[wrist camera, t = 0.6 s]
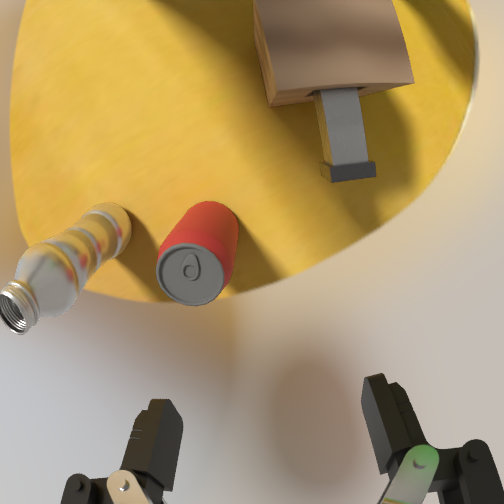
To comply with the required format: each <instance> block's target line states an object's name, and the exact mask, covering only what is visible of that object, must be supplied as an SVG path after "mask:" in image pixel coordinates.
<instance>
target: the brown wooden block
mask: <svg viewBox="0 0 504 504" xmlns="http://www.w3.org/2000/svg"><path fill="white" fill-rule="evenodd" d="M253 10H254V42H255V46H256V51H257V55H258V59H259V64H260V68H261V72H262V77H263V82H264V86H265V91H266V95H267V100H268V105H269V107H274V106H281V105H287V104H295V103H302V102H311V101H314V99H313V94H312V91H313V90H320V89H332V88H346V87H357V91H358V96H359V97H361V96H365V95H369V94H372V93H376V92H380V91H384V90H388V89H392V88H396V87H400V86H404V85H409V84H413V83H414V78H413V74H412V69H411V65H410V60H409V56H408V52H407V48H406V44H405V41H404V37H403V34H402V30H401V27H400V24H399V21H398V17H397V14H396V11H395V8H394V6H393V3H392V0H253Z"/></svg>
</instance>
